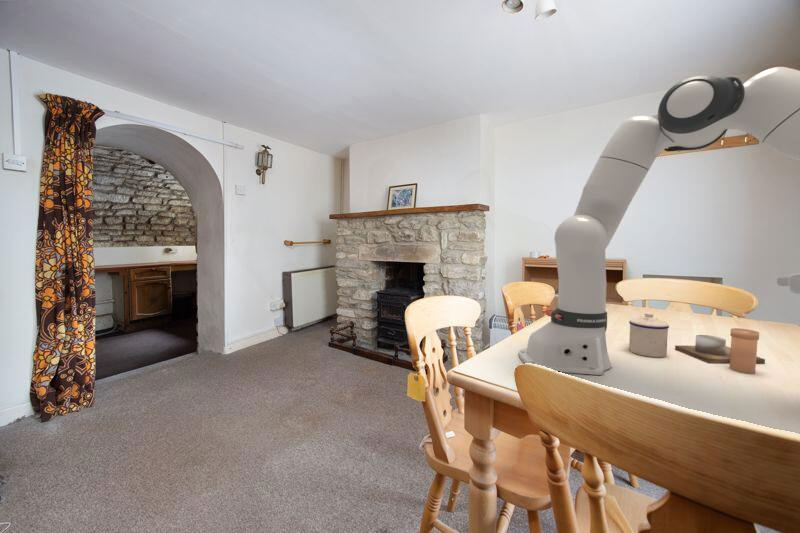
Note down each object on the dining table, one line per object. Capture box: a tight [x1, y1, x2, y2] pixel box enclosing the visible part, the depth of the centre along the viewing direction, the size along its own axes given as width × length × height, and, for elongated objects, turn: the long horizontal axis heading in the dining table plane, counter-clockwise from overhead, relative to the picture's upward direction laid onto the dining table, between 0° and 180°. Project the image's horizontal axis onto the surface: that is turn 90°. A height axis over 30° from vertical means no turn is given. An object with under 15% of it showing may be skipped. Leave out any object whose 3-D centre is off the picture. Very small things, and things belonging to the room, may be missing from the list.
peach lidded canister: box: [729, 327, 760, 375], centre depth 79 cm, size 5×5×10 cm
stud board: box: [674, 334, 766, 365], centre depth 89 cm, size 14×11×5 cm
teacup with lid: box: [628, 312, 670, 358], centre depth 93 cm, size 12×9×12 cm
